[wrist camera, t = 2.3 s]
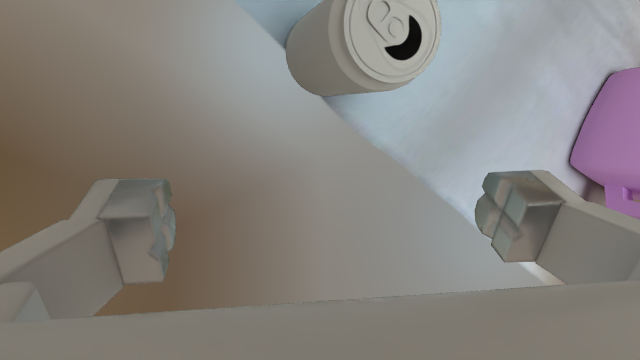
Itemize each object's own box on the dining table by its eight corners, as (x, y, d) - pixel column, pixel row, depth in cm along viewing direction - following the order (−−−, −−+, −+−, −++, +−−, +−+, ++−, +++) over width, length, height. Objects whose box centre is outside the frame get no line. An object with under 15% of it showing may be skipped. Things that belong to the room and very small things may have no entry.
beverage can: (327, 112, 32) (400, 115, 21) (266, 58, 30) (311, 30, 19) (373, 52, 33) (469, 23, 21) (316, -6, 30) (391, -72, 19)
